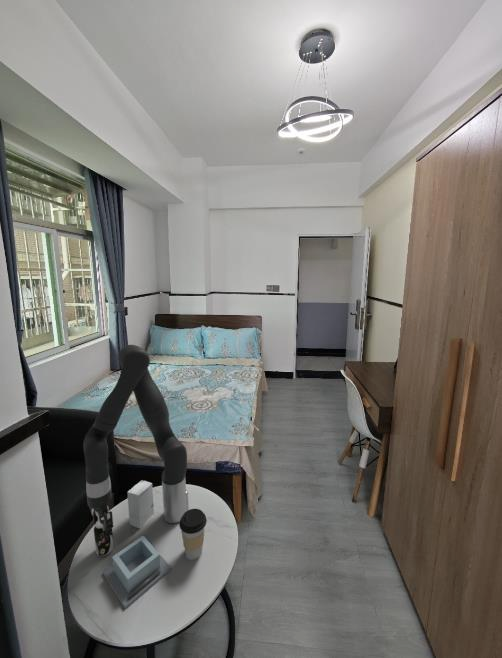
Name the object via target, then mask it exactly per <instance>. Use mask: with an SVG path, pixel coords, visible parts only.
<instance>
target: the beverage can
mask: <svg viewBox="0 0 502 658" xmlns="http://www.w3.org/2000/svg"><path fill="white" fill-rule="evenodd" d="M103 518H104V517H103ZM103 518H101V520H103ZM110 530H111V535H110V536H109V537H107V538H104V537H103V528H102V524H100V523H99V520H98V521H97V522H96V524H95V525H94V528H93V535H94V545H95V553H96V556H98V557H105V556H107V555H109V554H111V552H112V551H113V549H114V546H115V545H114V536H113V535H114V534H113V528H111V529H110Z"/></svg>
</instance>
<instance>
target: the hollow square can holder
mask: <svg viewBox="0 0 502 658" xmlns="http://www.w3.org/2000/svg"><path fill="white" fill-rule="evenodd" d="M111 557H112V564H111V565H109V566H108V567H106V568H105V569H104V570H103V571H102V574H103V576H104V578H105V579H106V581H107V582H108V584H109V586H110V587H111V590H112V591H113V592H114V594H115V595H116V597H117V599H118V601H120V604H121V605H122V607H123V608H124V610H127V608H129V607H130V606H131V605H132V604H133V603H135V602H136V601H137V600H138V599H139V598H140V597H142V595H144V594H145V593H147V591H149V589H151V588H152V587H153V586H154V585H156V584H157V583H158V582H159V581H160V580H161V579H162V578H163V577H165V576H166V575H167V574H168V573H170V571H171V570H172V567H171V566H170V564H169V563H168V562H167V561H166V560H165V559H164V557H162V555H161V554H160V553H159V551H158V550H157V549H156V548H155V547H154V546H153V545H152V544H151V543H150V541H149V540H148V539H147V538H146V537H145V536H144V535H141V536H140V537H138V538H137V539H135V540H134V541H133V542H131V543H130V544H128V545H127V546H125V547H124V548H123V549H121V550H120V551H119V552H116V553H115V554H114V555H113V556H111Z"/></svg>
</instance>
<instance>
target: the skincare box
mask: <svg viewBox="0 0 502 658" xmlns="http://www.w3.org/2000/svg"><path fill="white" fill-rule="evenodd" d="M126 493H127V494H126V495H127V506H128V518H129V519H128V520H129V525H130V526H132V527H135V528H136V529H139V530H141V529H142V528H143V527H144V526H145V524H146V523H147V522H148V521H149V520H150V519H151V518H152V517H153V516H154V515H155V511H154V510H155V509H154V508H155V507H154V493H153V483H152V482H149V481H147V480H143V479H142V480H140V481H139V482H138V483H137V484H135V485H133V487H131V489H129V490H128V491H127V492H126Z"/></svg>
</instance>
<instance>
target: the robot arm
mask: <svg viewBox="0 0 502 658" xmlns="http://www.w3.org/2000/svg"><path fill="white" fill-rule="evenodd" d="M117 360H118V361H117V362H118V364H119V366H120V367H121V370H120V374H119V377H118V380H117V382H116V384H115V385H114V388H113V389H112V391H110V393H109V394H108V396H107V397H106V398H105V399H104V401H103V403H102V405H101V407H100V408H99V411H98V413H97V415H96V418H95V420H94V423H93V424H92V425H91V427H90V428H89V430H88V431H87V432H86V434H85V437H84V439H83V444H82V447H83V454H84V460H85V480H86V482H85V483H86V485H85V487H86V489H85V490H86V501H87V503H86V504H87V507H89V511H90V512H91V515H92V520H93V521H92V522H93V524H94V526H95V524H96V522H97V521H98V520H99V523H100V524H102V528H103V537H104V538H107V537H109V536H110V535H111V530H110V529H111V528H112V529H113V528H114V521H113V520H114V518H113V512H112V511H110V510H109V509H110V508H109V505H108V504H109V503H110V502H111V500H112V483H111V478H110V466H109V445H108V442H107V441H108V440H107V439H108V437H109V434H110V433H111V432H113V431H114V430H115V428H116V427H117V425H118V423H119V421H120V419H121V416H122V415H123V412H124V409H125V408H126V405H127V403H128V402H129V399H130V397H131V395H132V394H134V397H135V400H136V403H137V405H138V409H139V411H140V413H141V416H142V418H143V420H144V422H145V424H146V426H147V428H148V429H149V431H150V432H151V435H152V437H153V441H154V445H155V446H156V451H157V454H158V457H159V458H161V459H160V460H162V461H163V465H164V469H163V470H162V473H161V487H162V488H161V489H162V504H163V508H162V509H163V519H164V521H165V522H167V523H168V524H177V523H180V519H181V517H182V516H183V514H184V513H185V512H186V511H188V510H190V508H189V492H188V490H187V484H186V483H187V482H186V473H187V470H188V453H187V452H188V451H187V448H186V446H185V445H184V444H183V443H182V442H181V441H180V440H179V439H178V438H177V437H176V435H175V434H174V432H173V429H172V427H171V424H170V415H169V414H170V413H169V412H170V411H169V408H168V406H167V403H166V400H165V398H164V396H163V394H162V391H160V388H159V387H158V385H157V384H156V382H155V381H154V379H153V377H152V376H151V374H150V371H149V366H150V362H151V359H150V355H149V353H148V352H147V351H146V350H144V349H143V348H142V347H140V346H138V345H135V344H127V345H125V346H123V347H122V348H121V349H120V351H119V353H118V359H117ZM101 518H103V520H101Z"/></svg>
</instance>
